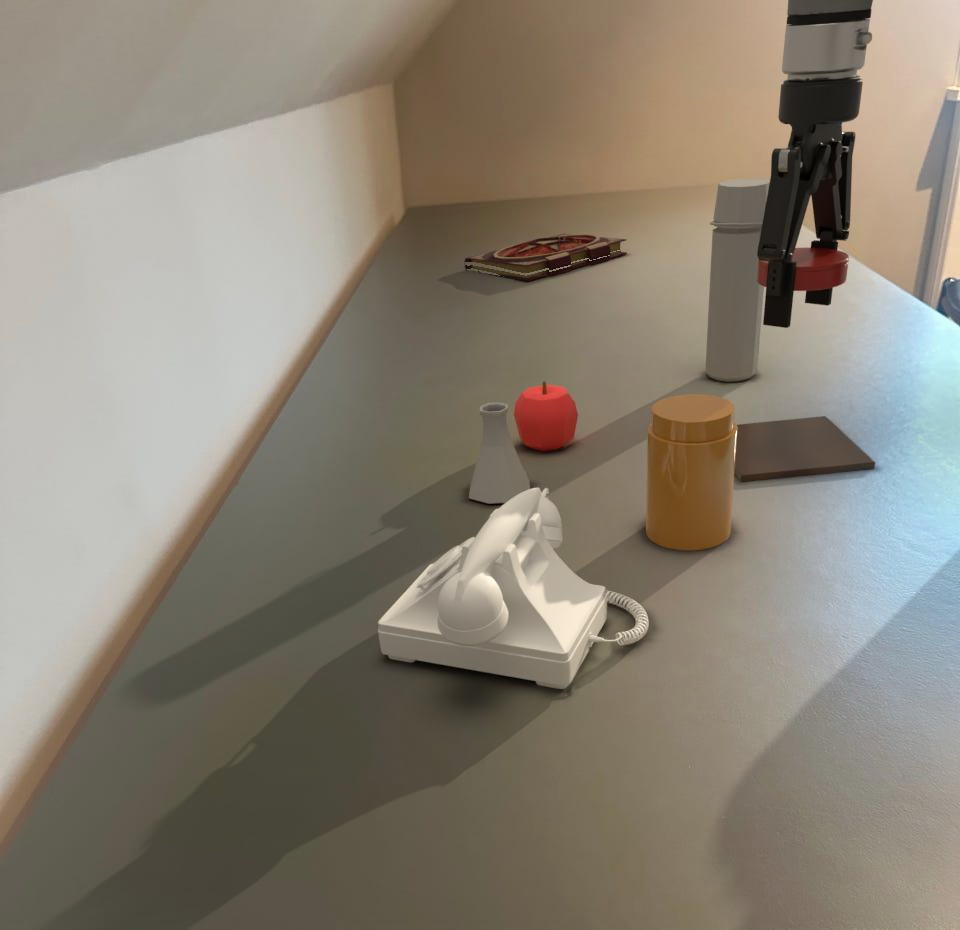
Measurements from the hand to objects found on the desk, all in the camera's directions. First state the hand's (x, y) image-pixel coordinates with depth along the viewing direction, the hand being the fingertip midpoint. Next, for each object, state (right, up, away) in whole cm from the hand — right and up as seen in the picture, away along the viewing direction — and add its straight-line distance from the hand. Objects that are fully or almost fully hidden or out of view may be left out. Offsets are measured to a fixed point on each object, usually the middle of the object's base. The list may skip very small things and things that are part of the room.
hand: (797, 314), depth 105 cm
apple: (-26, -11, +16) cm, 32 cm away
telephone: (-30, -34, -20) cm, 50 cm away
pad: (+1, -13, +8) cm, 16 cm away
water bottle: (+1, +2, +33) cm, 33 cm away
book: (-20, +45, +103) cm, 114 cm away
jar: (-13, -24, -7) cm, 29 cm away
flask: (-32, -19, +5) cm, 38 cm away
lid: (0, +5, -3) cm, 5 cm away
